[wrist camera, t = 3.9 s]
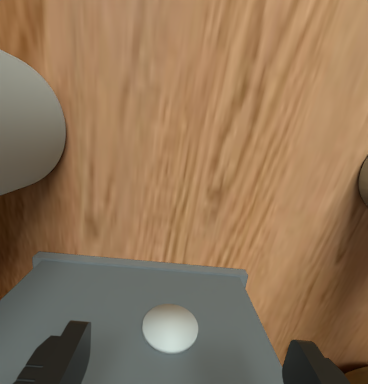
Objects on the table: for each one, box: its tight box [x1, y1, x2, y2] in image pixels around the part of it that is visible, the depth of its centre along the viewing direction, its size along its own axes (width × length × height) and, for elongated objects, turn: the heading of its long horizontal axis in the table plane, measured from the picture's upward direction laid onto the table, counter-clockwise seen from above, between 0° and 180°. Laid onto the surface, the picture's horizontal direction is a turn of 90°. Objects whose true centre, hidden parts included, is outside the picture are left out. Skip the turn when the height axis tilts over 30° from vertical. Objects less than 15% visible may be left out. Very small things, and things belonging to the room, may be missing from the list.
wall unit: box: [0, 252, 284, 384], centre depth 19 cm, size 24×7×16 cm, turn 83°
